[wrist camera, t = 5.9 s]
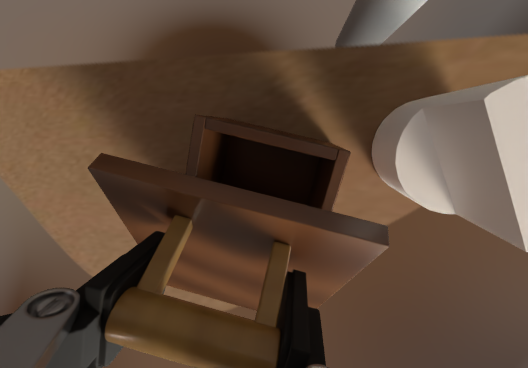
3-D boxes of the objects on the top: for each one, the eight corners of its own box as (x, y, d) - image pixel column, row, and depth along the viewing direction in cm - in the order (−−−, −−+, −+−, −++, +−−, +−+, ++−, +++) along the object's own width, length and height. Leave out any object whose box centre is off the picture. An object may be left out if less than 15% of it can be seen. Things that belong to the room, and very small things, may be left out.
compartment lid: (100, 152, 9) (-34, 297, 6) (388, 225, 9) (405, 430, 6) (168, 274, 20) (132, 351, 17) (301, 311, 19) (290, 399, 16)
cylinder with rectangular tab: (484, 173, 24) (664, 217, 12) (388, 207, 26) (467, 273, 14) (457, 80, 23) (631, 32, 11) (358, 123, 24) (417, 119, 13)
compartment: (227, 118, 26) (194, 114, 17) (331, 143, 25) (351, 151, 16) (206, 231, 29) (168, 276, 20) (298, 256, 28) (300, 313, 19)
